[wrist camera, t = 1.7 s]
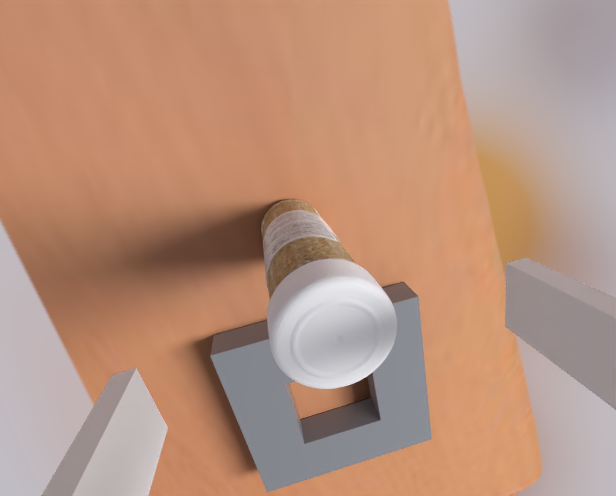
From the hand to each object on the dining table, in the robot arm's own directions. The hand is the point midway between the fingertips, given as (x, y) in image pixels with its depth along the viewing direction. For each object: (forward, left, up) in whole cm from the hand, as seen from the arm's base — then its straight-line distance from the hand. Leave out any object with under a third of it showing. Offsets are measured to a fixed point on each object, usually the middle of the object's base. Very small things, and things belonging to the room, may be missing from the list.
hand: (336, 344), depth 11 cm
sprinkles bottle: (0, 0, -13) cm, 13 cm away
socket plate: (+15, 0, -13) cm, 20 cm away
